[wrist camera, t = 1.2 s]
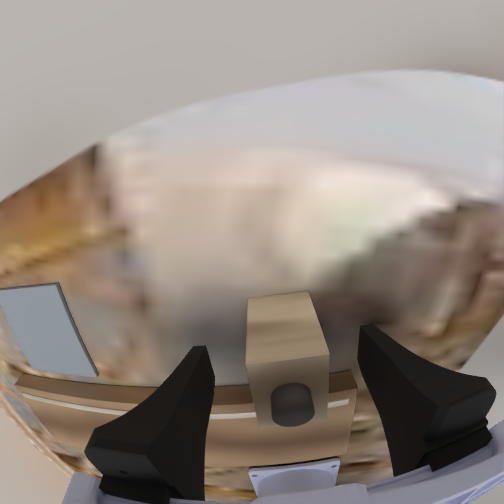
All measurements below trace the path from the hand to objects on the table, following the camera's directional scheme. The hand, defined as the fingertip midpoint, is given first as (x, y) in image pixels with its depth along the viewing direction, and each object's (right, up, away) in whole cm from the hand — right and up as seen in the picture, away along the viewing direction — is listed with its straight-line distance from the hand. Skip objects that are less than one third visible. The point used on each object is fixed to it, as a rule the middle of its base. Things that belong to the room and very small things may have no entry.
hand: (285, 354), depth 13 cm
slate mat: (-16, -1, +3) cm, 16 cm away
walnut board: (-8, -8, +5) cm, 12 cm away
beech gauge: (0, +1, +2) cm, 2 cm away
